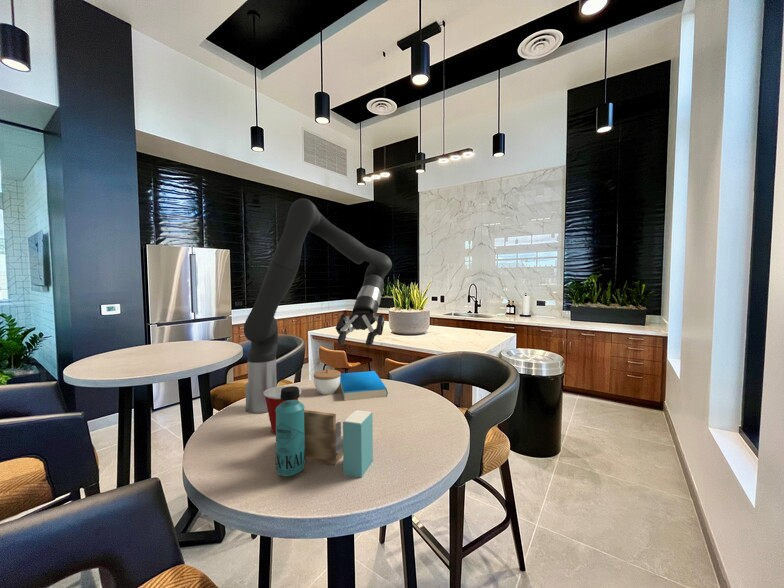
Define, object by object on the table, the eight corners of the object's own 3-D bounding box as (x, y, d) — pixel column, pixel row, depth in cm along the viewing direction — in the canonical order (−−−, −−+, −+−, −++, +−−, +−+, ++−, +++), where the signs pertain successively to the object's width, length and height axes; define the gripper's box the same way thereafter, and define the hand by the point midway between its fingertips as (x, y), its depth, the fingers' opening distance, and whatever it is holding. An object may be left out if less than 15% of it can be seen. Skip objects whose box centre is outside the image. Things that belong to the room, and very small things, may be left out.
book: (343, 391, 118) (338, 372, 142) (343, 403, 118) (338, 382, 143) (388, 387, 122) (375, 369, 147) (388, 398, 123) (375, 379, 147)
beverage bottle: (279, 467, 75) (278, 383, 75) (308, 465, 76) (307, 382, 75) (271, 484, 69) (270, 393, 68) (303, 482, 69) (301, 392, 69)
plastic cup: (304, 434, 92) (303, 393, 91) (263, 441, 88) (262, 398, 87) (300, 420, 102) (299, 382, 101) (264, 425, 98) (263, 387, 98)
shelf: (277, 455, 81) (276, 408, 80) (304, 433, 92) (303, 393, 92) (334, 465, 76) (333, 415, 76) (354, 441, 87) (354, 398, 87)
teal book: (343, 474, 72) (342, 421, 72) (356, 458, 79) (355, 409, 79) (361, 477, 71) (361, 423, 71) (372, 461, 78) (372, 411, 77)
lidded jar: (346, 389, 131) (345, 367, 131) (330, 398, 121) (330, 373, 121) (324, 386, 135) (324, 364, 135) (308, 394, 126) (307, 371, 125)
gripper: (343, 295, 101) (327, 336, 91) (385, 294, 97) (373, 338, 87) (351, 310, 107) (336, 351, 96) (391, 310, 102) (380, 353, 92)
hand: (353, 344), depth 91 cm, fingers open, 8 cm apart
